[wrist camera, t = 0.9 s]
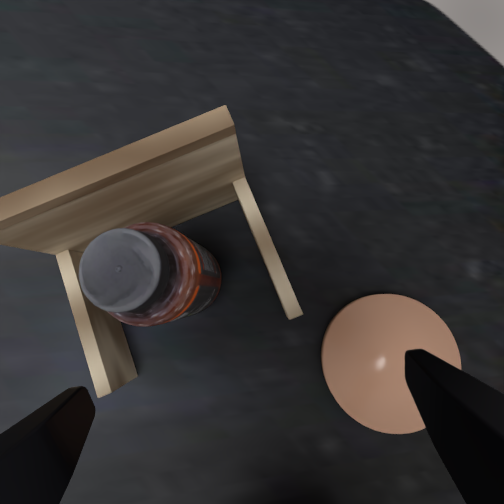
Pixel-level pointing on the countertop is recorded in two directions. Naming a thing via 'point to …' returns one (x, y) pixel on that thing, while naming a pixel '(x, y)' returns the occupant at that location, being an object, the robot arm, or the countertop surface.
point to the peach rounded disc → (381, 358)
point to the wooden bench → (135, 218)
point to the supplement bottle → (148, 274)
